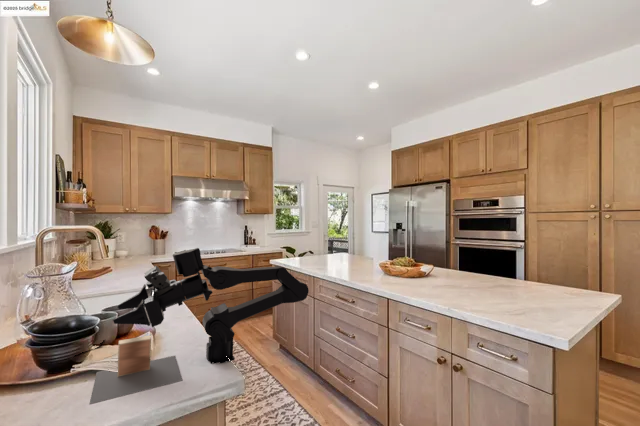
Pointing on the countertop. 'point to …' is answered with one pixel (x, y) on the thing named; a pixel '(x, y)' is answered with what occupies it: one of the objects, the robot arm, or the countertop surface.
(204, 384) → the countertop surface
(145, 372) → the mat
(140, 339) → the cream rectangular block
